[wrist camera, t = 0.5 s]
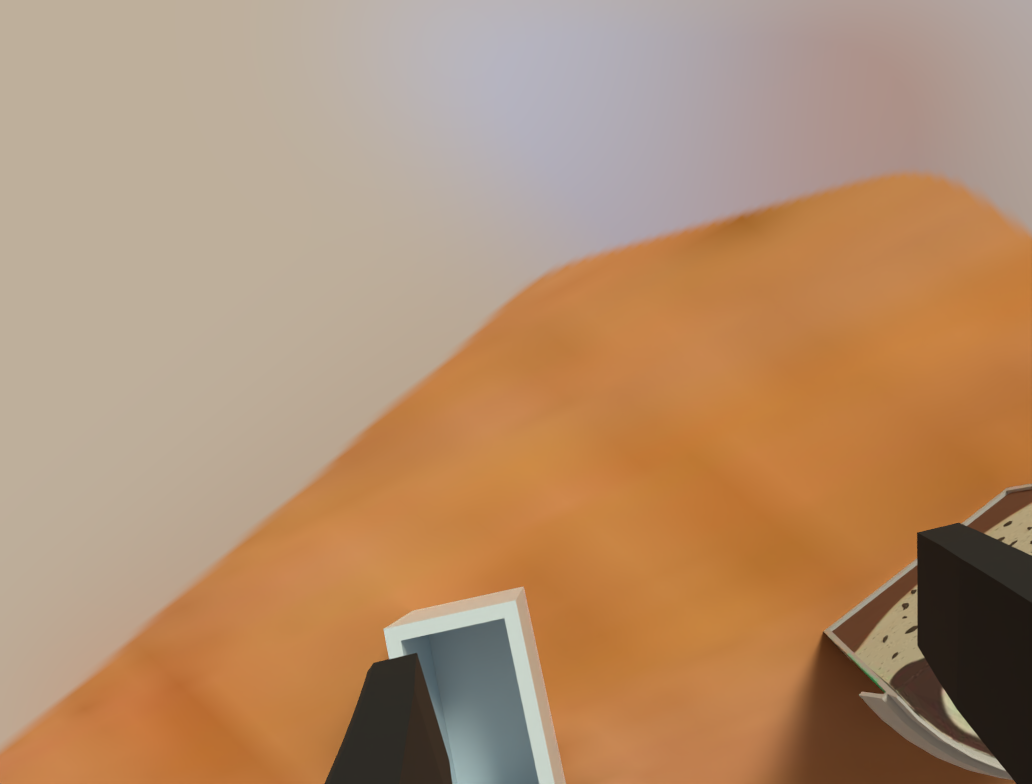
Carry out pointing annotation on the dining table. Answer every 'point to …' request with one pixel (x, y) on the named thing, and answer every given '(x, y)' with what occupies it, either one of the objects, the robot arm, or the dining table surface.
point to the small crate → (484, 687)
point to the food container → (901, 665)
